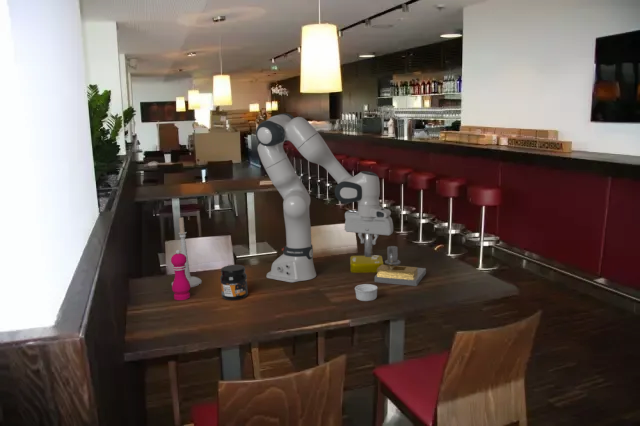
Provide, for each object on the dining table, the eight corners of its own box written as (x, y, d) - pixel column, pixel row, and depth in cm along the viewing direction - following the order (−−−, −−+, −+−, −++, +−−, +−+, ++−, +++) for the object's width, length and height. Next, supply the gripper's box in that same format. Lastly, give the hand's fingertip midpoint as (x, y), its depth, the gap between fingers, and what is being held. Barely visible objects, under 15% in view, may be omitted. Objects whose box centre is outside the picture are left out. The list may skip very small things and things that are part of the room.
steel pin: (362, 256, 218) (362, 228, 215) (365, 254, 221) (365, 226, 219) (371, 257, 216) (371, 229, 214) (374, 255, 220) (374, 227, 217)
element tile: (350, 264, 252) (350, 254, 251) (381, 263, 251) (381, 254, 250) (350, 273, 237) (350, 263, 237) (383, 273, 237) (383, 262, 236)
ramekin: (351, 296, 207) (351, 285, 206) (371, 292, 210) (371, 282, 209) (360, 303, 199) (360, 292, 198) (381, 299, 202) (381, 289, 201)
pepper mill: (172, 301, 208) (168, 253, 204) (172, 296, 215) (168, 248, 211) (191, 299, 210) (187, 251, 206) (191, 293, 217) (186, 246, 213)
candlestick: (178, 290, 222) (171, 220, 216) (167, 283, 232) (161, 216, 227) (206, 283, 229) (201, 216, 224) (194, 277, 239) (189, 212, 234)
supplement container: (224, 302, 205) (222, 273, 203) (219, 294, 214) (217, 266, 212) (251, 298, 209) (249, 269, 206) (244, 290, 218) (242, 262, 216)
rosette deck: (374, 282, 223) (374, 254, 221) (386, 270, 239) (386, 244, 237) (416, 286, 216) (416, 257, 214) (425, 273, 232) (425, 247, 230)
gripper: (342, 210, 216) (342, 243, 219) (390, 214, 208) (389, 247, 211) (347, 208, 222) (347, 240, 225) (394, 211, 214) (394, 244, 217)
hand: (368, 243), depth 218 cm, fingers closed on steel pin, 3 cm apart
